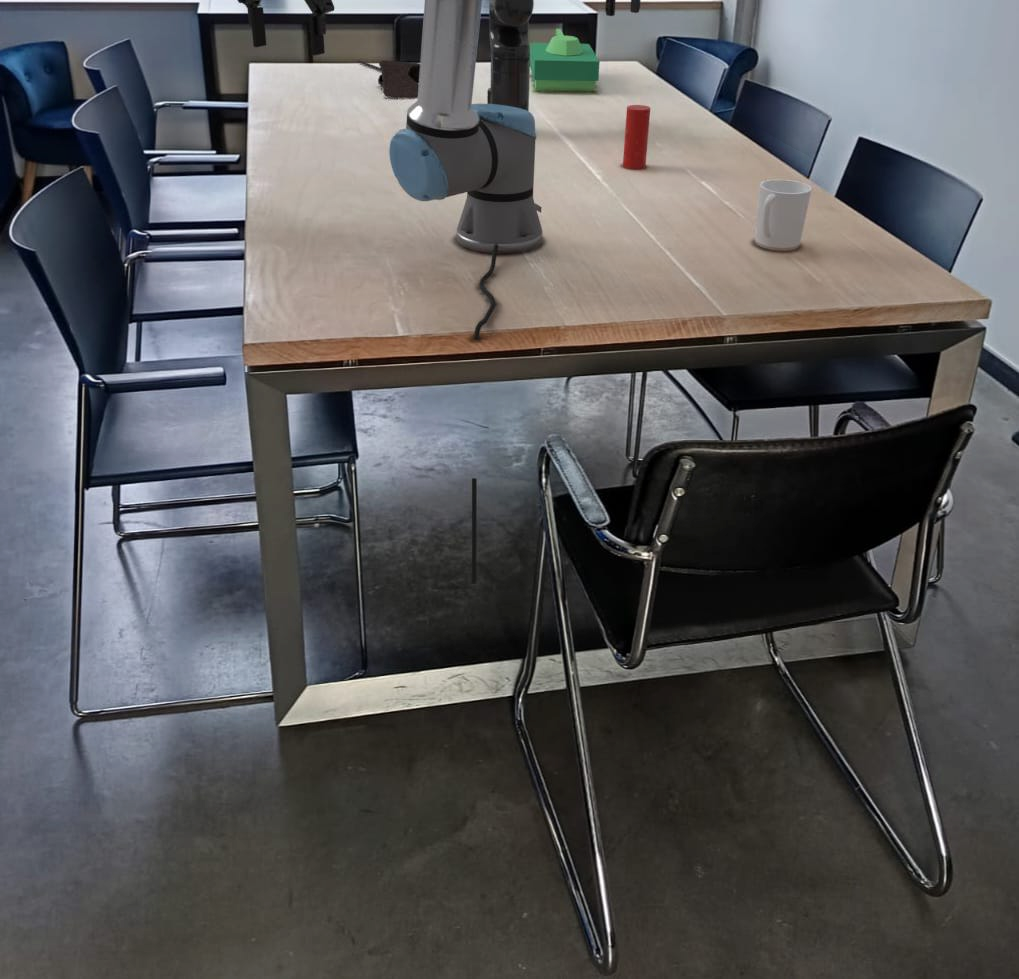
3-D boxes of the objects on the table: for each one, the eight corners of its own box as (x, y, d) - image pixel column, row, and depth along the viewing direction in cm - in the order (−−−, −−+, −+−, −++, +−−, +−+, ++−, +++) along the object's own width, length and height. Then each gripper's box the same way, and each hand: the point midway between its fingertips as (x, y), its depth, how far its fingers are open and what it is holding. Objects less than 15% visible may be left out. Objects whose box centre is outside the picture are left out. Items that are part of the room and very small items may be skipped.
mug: (766, 232, 202) (774, 176, 197) (810, 242, 198) (820, 186, 192) (737, 246, 195) (744, 189, 190) (782, 258, 190) (791, 199, 185)
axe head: (443, 87, 294) (392, 77, 287) (436, 115, 299) (385, 106, 292) (421, 62, 307) (371, 52, 300) (414, 89, 311) (365, 80, 304)
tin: (649, 168, 239) (654, 109, 232) (629, 170, 237) (633, 110, 230) (638, 162, 243) (643, 104, 236) (618, 164, 241) (622, 105, 234)
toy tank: (586, 25, 325) (600, 46, 295) (584, 69, 332) (597, 94, 302) (527, 24, 324) (535, 45, 294) (526, 68, 331) (533, 93, 301)
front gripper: (349, -78, 186) (356, 54, 197) (237, -86, 197) (250, 40, 208) (322, -75, 181) (330, 60, 192) (208, -84, 191) (222, 45, 202)
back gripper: (618, -59, 245) (613, 19, 254) (660, -63, 254) (654, 13, 262) (594, -62, 250) (590, 15, 259) (636, -65, 258) (631, 9, 267)
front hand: (288, 50), depth 200 cm, fingers open, 13 cm apart
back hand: (622, 14), depth 260 cm, fingers open, 8 cm apart
